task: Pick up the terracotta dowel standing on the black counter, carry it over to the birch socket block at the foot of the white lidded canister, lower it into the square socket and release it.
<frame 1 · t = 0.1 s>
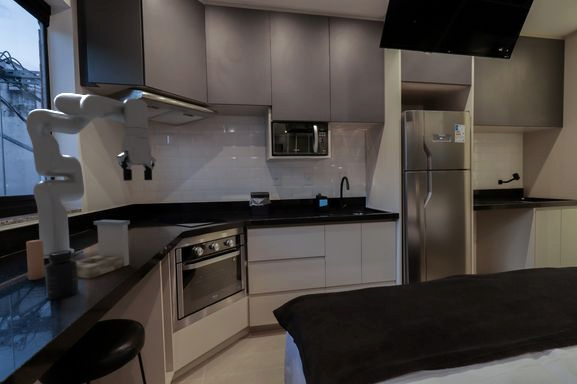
hand: (138, 180, 105), 31 cm above the countertop, tool pointing down, fingers open, 9 cm apart
supplement bottle: (63, 295, 78), on the countertop
white lidded canister: (112, 242, 105), on the countertop
peg: (36, 277, 92), on the countertop
socket block: (94, 270, 98), on the countertop
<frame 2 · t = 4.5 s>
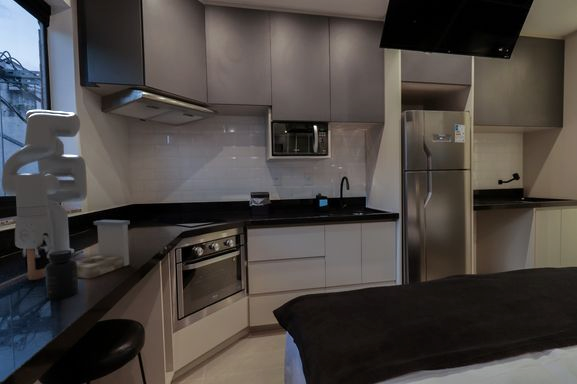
hand: (36, 267, 92), 3 cm above the countertop, tool pointing down, fingers closed on peg, 4 cm apart
peg: (36, 277, 92), on the countertop, touching gripper
everything else where it was.
when the fingers open (5 cm above the countertop, at t = 10.0 s): peg drops 1 cm, resting in socket block.
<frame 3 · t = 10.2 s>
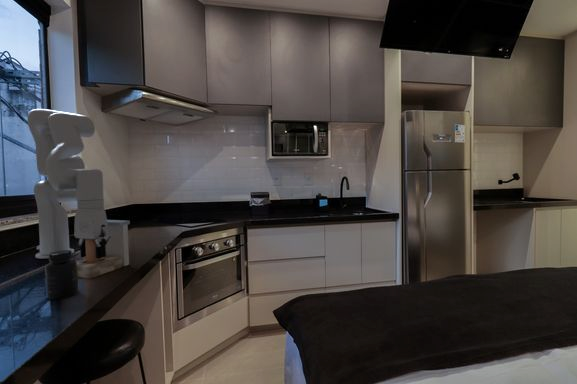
hand: (93, 256, 98), 5 cm above the countertop, tool pointing down, fingers open, 6 cm apart
peg: (93, 270, 98), resting in socket block
everything else where it was.
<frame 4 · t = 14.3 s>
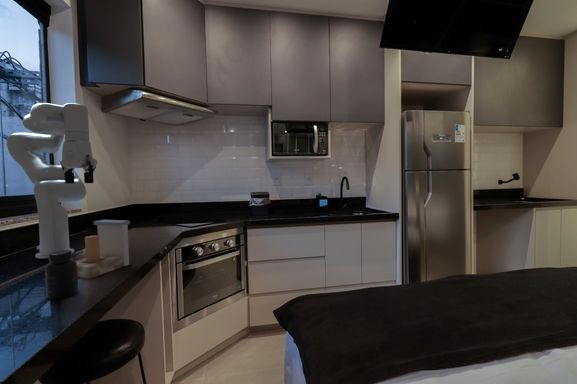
hand: (79, 183, 107), 30 cm above the countertop, tool pointing down, fingers open, 9 cm apart
nothing on the countertop moved.
at the end: peg 0.1 cm off-centre on the socket block, point 0.0 cm above the socket block's base; peg tilted 0°; the gripper is holding nothing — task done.
